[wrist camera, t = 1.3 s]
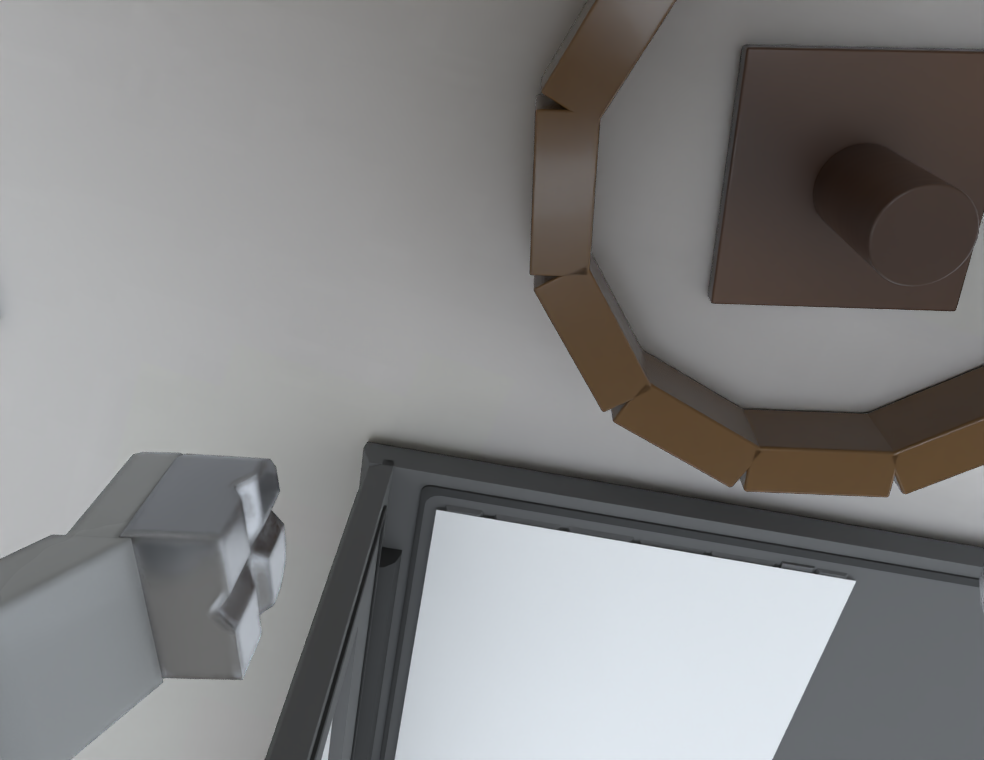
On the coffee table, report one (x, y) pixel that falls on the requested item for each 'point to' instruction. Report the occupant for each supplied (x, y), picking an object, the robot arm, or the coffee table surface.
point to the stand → (851, 178)
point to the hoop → (662, 389)
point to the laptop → (627, 628)
